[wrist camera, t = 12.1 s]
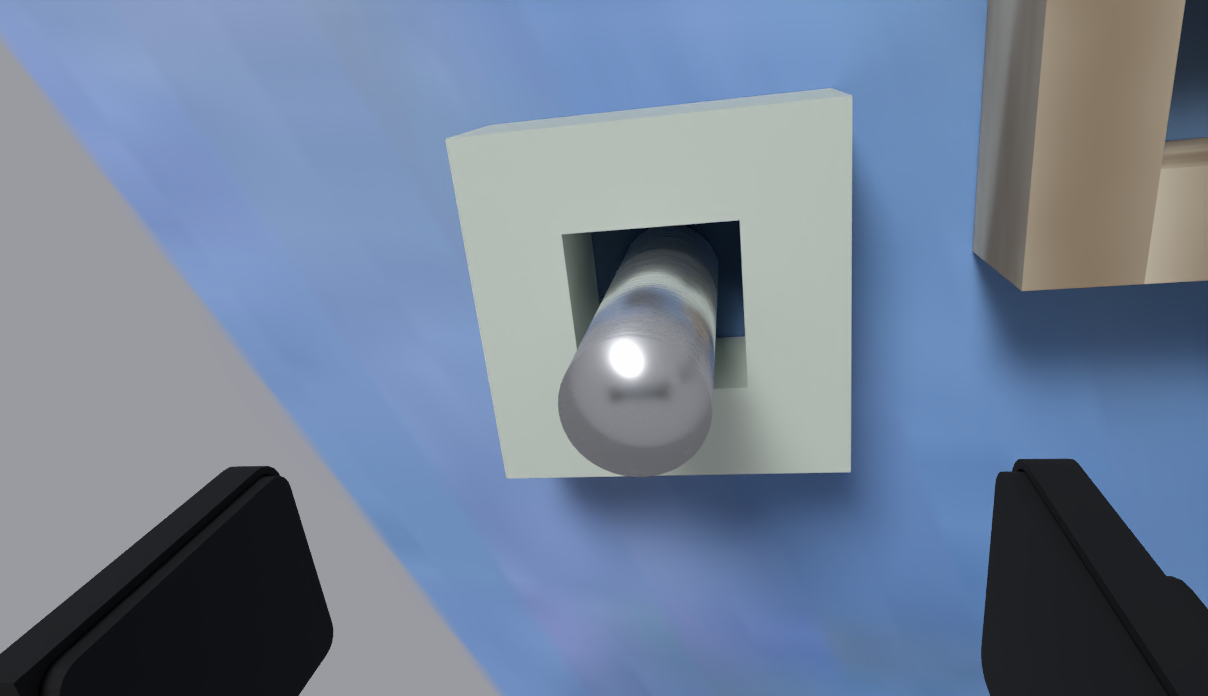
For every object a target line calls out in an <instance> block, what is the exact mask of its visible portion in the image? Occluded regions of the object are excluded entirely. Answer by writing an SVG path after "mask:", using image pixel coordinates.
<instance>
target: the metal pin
mask: <svg viewBox="0 0 1208 696" xmlns="http://www.w3.org/2000/svg"><path fill="white" fill-rule="evenodd" d="M717 292H718V261H717V258H716V255H715V252H714V250H713V248H712V247H711V245H710V244H709V242H708V241H707V240H706V239H705V238H704V237H703V236H702V235H701V234H699V233H698V232H697V231H695V230H693V229H691V228H688V227H686V226H682V225H674V226H661V227H652V228H650V229H648V230H646V231H645V232H643V233H642V234H640V235H639V236H638V237H637V238H636V239H635V240H634V241H633V243H632V244H631V245H630V247H629V249H628V251H627V253H626V255H625V257H624V259H623V261H622V263H621V265H620V267H619V269H618V271H617V272H616V274H615V276H614V278H613V280H612V282H611V284H610V286H609V288H608V290H607V292H606V294H605V296H604V298H603V300H602V302H601V304H600V306H599V308H598V310H597V312H596V314H595V316H594V318H593V320H592V322H591V324H590V326H589V328H588V330H587V332H586V334H585V336H584V338H583V340H582V342H581V343H580V345H579V347H578V349H577V351H576V353H575V355H574V357H573V359H572V361H571V363H570V365H569V367H568V369H567V371H566V373H565V375H564V377H563V380H562V382H561V385H560V389H559V394H558V411H559V417H560V421H561V424H562V427H563V429H564V431H565V433H566V435H567V437H568V439H569V440H570V442H571V443H572V445H573V446H574V447H575V448H576V449H577V450H578V452H579V453H580V454H582V455H583V456H584V457H585V458H586V459H587V460H589V461H590V462H592V463H593V464H595V465H596V466H598V467H600V468H602V469H604V470H607V471H609V472H612V473H615V474H619V475H623V476H629V477H650V476H656V475H661V474H664V473H667V472H670V471H672V470H674V469H676V468H678V467H680V466H681V465H683V464H684V463H686V462H687V461H688V460H689V459H691V458H692V457H693V456H694V455H695V454H696V453H697V451H698V450H699V449H700V448H701V446H702V445H703V443H704V441H705V439H706V437H707V435H708V432H709V429H710V426H711V420H712V406H713V383H714V360H715V338H716V315H717Z"/></svg>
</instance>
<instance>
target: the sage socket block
mask: <svg viewBox="0 0 1208 696" xmlns="http://www.w3.org/2000/svg"><path fill="white" fill-rule="evenodd" d="M445 140H446V146H447V151H448V157H449V162H450V168H451V174H452V179H453V185H454V190H455V196H456V201H457V207H458V212H459V218H460V223H461V229H462V235H463V240H464V246H465V251H466V257H467V262H468V268H469V273H470V279H471V284H472V290H473V296H474V301H475V307H476V312H477V318H478V323H479V329H480V334H481V340H482V345H483V351H484V356H485V362H486V368H487V373H488V379H489V384H490V390H491V395H492V401H493V406H494V412H495V417H496V423H497V429H498V434H499V440H500V445H501V451H502V456H503V462H504V467H505V473H506V478H559V477H615V476H623V475H619V474H615V473H612V472H609V471H607V470H604V469H602V468H600V467H598V466H596V465H595V464H593V463H592V462H590V461H589V460H587V459H586V458H585V457H584V456H583V455H582V454H580V453H579V452H578V450H577V449H576V448H575V447H574V446H573V445H572V443H571V442H570V440H569V439H568V437H567V435H566V433H565V431H564V429H563V427H562V424H561V421H560V417H559V411H558V394H559V389H560V385H561V382H562V380H563V377H564V375H565V373H566V371H567V369H568V367H569V365H570V363H571V361H572V359H573V357H574V355H575V353H576V351H577V349H578V347H579V345H580V343H581V342H582V340H583V338H584V336H585V334H586V332H587V330H588V328H589V326H590V324H591V322H592V320H593V318H594V316H595V314H596V312H597V310H598V308H599V306H600V303H599V295H598V286H597V278H596V270H595V261H594V253H593V244H592V236H591V232H598V231H611V230H623V229H636V228H649V227H661V226H674V225H687V224H699V223H712V222H724V221H737V220H739V226H740V246H741V267H742V287H743V308H744V328H745V336H742V337H722V338H715V360H714V383H713V406H712V420H711V426H710V429H709V432H708V435H707V437H706V439H705V441H704V443H703V445H702V446H701V448H700V449H699V450H698V451H697V453H696V454H695V455H694V456H693V457H692V458H691V459H689V460H688V461H687V462H686V463H684V464H683V465H681V466H680V467H678V468H676V469H674V470H672V471H670V472H667V473H664V474H661V475H656V476H670V475H725V474H781V473H836V472H851V309H852V95H849V94H846V93H844V92H841V91H838V90H835V89H832V88H826V89H817V90H808V91H798V92H789V93H780V94H771V95H761V96H752V97H743V98H734V99H725V100H715V101H706V102H697V103H688V104H679V105H669V106H660V107H651V108H642V109H632V110H623V111H614V112H605V113H596V114H586V115H577V116H568V117H559V118H550V119H540V120H531V121H522V122H513V123H503V124H494V125H489V126H485V127H482V128H479V129H476V130H472V131H469V132H466V133H463V134H459V135H456V136H453V137H449V138H446V139H445Z"/></svg>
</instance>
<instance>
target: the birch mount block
mask: <svg viewBox="0 0 1208 696" xmlns="http://www.w3.org/2000/svg"><path fill="white" fill-rule="evenodd" d="M1185 1H1186V0H988V12H987V28H986V44H985V60H984V77H983V93H982V109H981V125H980V141H979V158H978V174H977V190H976V206H975V222H974V239H973V252H974V253H975V254H977V255H978V256H979V257H980V258H981V259H983V260H984V261H985V262H986V263H988V264H989V265H990V266H991V267H992V268H994V269H995V270H996V271H997V272H999V273H1000V274H1001V275H1002V276H1004V277H1005V278H1006V279H1007V280H1008V281H1010V282H1011V283H1012V284H1013V285H1015V286H1016V287H1017V288H1018V289H1019V290H1021V291H1034V290H1051V289H1068V288H1086V287H1103V286H1120V285H1137V284H1155V283H1172V282H1189V281H1206V280H1208V137H1207V138H1196V139H1185V140H1174V141H1165V138H1166V131H1167V124H1168V118H1169V111H1170V104H1171V97H1172V90H1173V83H1174V76H1175V70H1176V63H1177V56H1178V49H1179V42H1180V35H1181V29H1182V22H1183V15H1184V8H1185Z"/></svg>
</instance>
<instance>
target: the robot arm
mask: <svg viewBox="0 0 1208 696" xmlns="http://www.w3.org/2000/svg"><path fill="white" fill-rule="evenodd" d="M332 639H333V626H332V621H331V618H330V615H329V611H328V608H327V605H326V601H325V598H324V595H323V592H322V588H321V585H320V582H319V579H318V575H317V572H316V569H315V566H314V562H313V559H312V556H311V552H310V549H309V546H308V543H307V539H306V536H305V533H304V530H303V526H302V523H301V520H300V516H299V513H298V510H297V507H296V503H295V500H294V497H293V494H292V490H291V487H290V485H289V482H288V481H287V480H286V479H285V478H284V477H281V476H280V475H279V473H278V472H277V471H276V470H275V469H274V468H272V467H269V466H246V467H245V466H243V467H229V468H228V469H226V470H224V471H223V472H222V473H220V474H219V475H218V476H217V477H215V478H214V479H213V480H212V481H211V482H209V483H208V484H207V485H206V486H205V487H203V488H202V489H201V490H200V491H198V492H197V493H196V494H195V495H194V496H192V497H191V498H190V499H189V500H187V501H186V502H185V503H184V504H183V505H181V506H180V507H179V508H178V509H176V510H175V511H174V512H173V513H172V514H170V515H169V516H168V517H167V518H165V519H164V520H163V521H162V522H161V523H159V524H158V525H157V526H156V527H154V528H153V529H152V530H151V531H150V532H148V533H147V534H146V535H145V536H143V537H142V538H141V539H140V540H139V541H137V542H136V543H135V544H134V545H133V546H132V547H130V548H129V549H128V550H126V551H125V552H124V553H123V554H122V555H120V556H119V557H118V558H117V559H115V560H114V561H113V562H112V563H111V564H109V565H108V566H107V567H106V568H104V569H103V570H102V571H101V572H100V573H98V574H97V575H96V576H95V577H94V578H92V579H91V580H90V581H89V582H87V583H86V584H85V585H84V586H83V587H81V588H80V589H79V590H78V591H76V592H75V593H74V594H73V595H72V596H70V597H69V598H68V599H67V600H66V601H64V602H63V603H62V604H61V605H59V606H58V607H57V608H56V609H55V610H53V611H52V612H51V613H50V614H48V615H47V616H46V617H45V618H44V619H42V620H41V621H40V622H39V623H37V624H36V625H35V626H34V627H33V628H31V629H30V630H29V631H28V632H27V633H25V634H24V635H23V636H22V637H20V638H19V639H18V640H17V641H15V642H14V643H13V644H12V645H11V646H9V647H8V648H7V649H6V650H5V651H3V652H2V653H1V654H0V696H299V694H300V693H301V691H302V690H303V688H304V687H305V685H306V684H307V682H308V681H309V679H310V678H311V677H312V675H313V674H314V672H315V671H316V669H317V668H318V666H319V665H320V663H321V662H322V661H323V659H324V658H325V656H326V655H327V653H328V651H329V649H330V647H331V644H332ZM981 659H982V668H983V674H984V678H985V682H986V685H987V688H988V690H989V693H990V696H1208V609H1207V608H1206V606H1205V605H1204V604H1203V603H1202V601H1201V600H1200V599H1199V598H1198V596H1197V595H1196V594H1195V593H1194V592H1193V590H1192V589H1191V588H1190V587H1188V586H1187V585H1186V584H1185V583H1184V582H1183V581H1182V580H1180V579H1177V578H1175V577H1172V576H1166V575H1165V574H1164V573H1163V571H1162V570H1161V569H1160V567H1159V566H1158V565H1157V564H1156V562H1155V561H1154V560H1153V558H1152V557H1151V556H1150V555H1149V553H1148V552H1147V551H1146V550H1145V548H1144V547H1143V546H1142V544H1141V543H1140V542H1139V541H1138V539H1137V538H1136V537H1135V535H1134V534H1133V533H1132V532H1131V530H1130V529H1129V528H1128V527H1127V525H1126V524H1125V523H1124V521H1123V520H1122V519H1121V518H1120V516H1119V515H1118V514H1117V512H1116V511H1115V510H1114V509H1113V507H1112V506H1111V505H1110V504H1109V502H1108V501H1107V500H1106V498H1105V497H1104V496H1103V495H1102V493H1101V492H1100V491H1099V489H1098V488H1097V487H1096V486H1095V484H1094V483H1093V482H1092V480H1091V479H1090V478H1089V477H1088V475H1087V474H1086V473H1085V472H1084V470H1083V469H1082V468H1081V466H1080V465H1079V464H1078V463H1077V462H1076V461H1075V460H1074V459H1018V460H1017V461H1016V462H1015V464H1014V467H1013V471H1012V472H1000V473H999V474H998V476H997V478H996V485H995V496H994V508H993V519H992V531H991V543H990V554H989V566H988V577H987V589H986V601H985V612H984V624H983V636H982V647H981Z"/></svg>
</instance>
